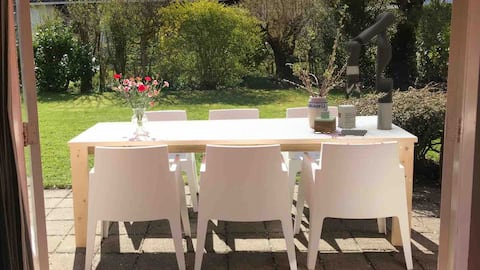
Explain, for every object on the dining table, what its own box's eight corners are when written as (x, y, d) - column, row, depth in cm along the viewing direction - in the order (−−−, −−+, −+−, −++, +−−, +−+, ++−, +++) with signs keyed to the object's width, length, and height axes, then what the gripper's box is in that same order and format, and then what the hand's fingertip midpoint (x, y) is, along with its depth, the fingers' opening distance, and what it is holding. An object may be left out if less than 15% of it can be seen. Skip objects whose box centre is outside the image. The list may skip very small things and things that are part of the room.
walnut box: (318, 130, 339) (317, 118, 337) (336, 130, 335) (336, 118, 333) (314, 133, 328) (314, 120, 326) (333, 133, 324) (333, 121, 322)
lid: (317, 119, 337) (317, 109, 336) (336, 119, 333) (336, 110, 332) (314, 122, 326) (314, 112, 325) (333, 122, 322) (333, 112, 321)
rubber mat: (342, 130, 334) (342, 129, 334) (367, 130, 329) (367, 130, 329) (338, 135, 318) (338, 134, 317) (364, 136, 312) (364, 135, 312)
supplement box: (337, 126, 349) (337, 105, 346) (349, 125, 352) (349, 104, 349) (344, 128, 340) (344, 106, 338) (355, 127, 343) (356, 105, 340)
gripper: (357, 73, 328) (357, 98, 330) (339, 73, 322) (340, 99, 324) (365, 73, 321) (365, 98, 323) (347, 73, 315) (347, 99, 317)
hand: (352, 99), depth 324 cm, fingers open, 8 cm apart
